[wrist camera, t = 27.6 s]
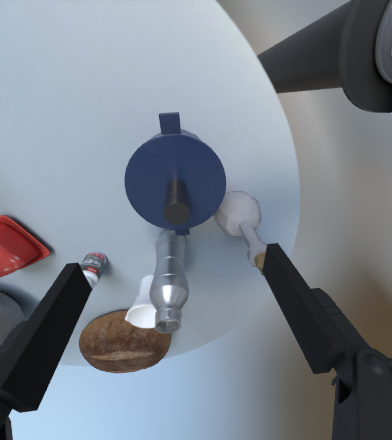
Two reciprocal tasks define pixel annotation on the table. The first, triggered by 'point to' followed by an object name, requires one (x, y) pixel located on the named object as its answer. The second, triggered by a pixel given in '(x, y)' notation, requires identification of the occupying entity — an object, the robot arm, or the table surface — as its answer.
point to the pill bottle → (93, 267)
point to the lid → (175, 181)
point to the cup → (142, 306)
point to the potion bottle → (243, 223)
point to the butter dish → (17, 247)
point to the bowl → (8, 316)
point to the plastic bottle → (169, 282)
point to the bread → (121, 344)
